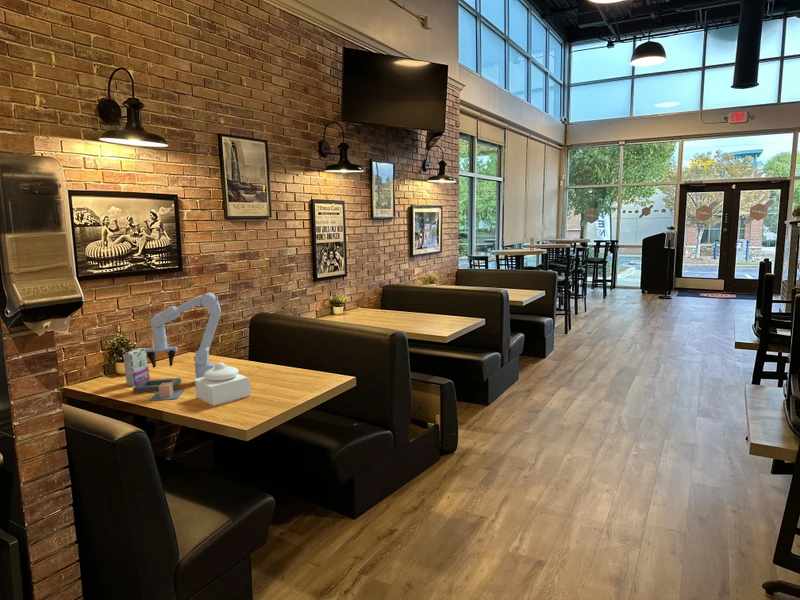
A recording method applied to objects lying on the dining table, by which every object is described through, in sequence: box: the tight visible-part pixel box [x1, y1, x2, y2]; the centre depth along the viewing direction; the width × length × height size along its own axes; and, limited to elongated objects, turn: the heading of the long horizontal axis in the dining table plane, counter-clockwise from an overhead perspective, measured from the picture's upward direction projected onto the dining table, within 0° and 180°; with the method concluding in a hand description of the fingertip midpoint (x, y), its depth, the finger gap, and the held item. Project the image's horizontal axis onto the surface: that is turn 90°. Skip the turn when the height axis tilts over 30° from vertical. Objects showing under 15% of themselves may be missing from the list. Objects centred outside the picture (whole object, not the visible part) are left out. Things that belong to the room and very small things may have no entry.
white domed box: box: [193, 362, 252, 407], centre depth 236 cm, size 18×18×16 cm
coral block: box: [159, 382, 175, 397], centre depth 241 cm, size 4×6×5 cm
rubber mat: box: [148, 389, 185, 402], centre depth 242 cm, size 12×12×1 cm
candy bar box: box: [122, 347, 151, 387], centre depth 263 cm, size 11×5×16 cm, turn 168°
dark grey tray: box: [132, 377, 182, 394], centre depth 254 cm, size 18×12×2 cm
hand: (162, 366), depth 257 cm, fingers open, 7 cm apart
